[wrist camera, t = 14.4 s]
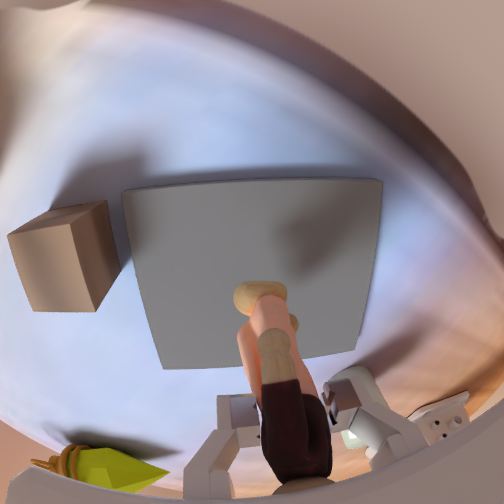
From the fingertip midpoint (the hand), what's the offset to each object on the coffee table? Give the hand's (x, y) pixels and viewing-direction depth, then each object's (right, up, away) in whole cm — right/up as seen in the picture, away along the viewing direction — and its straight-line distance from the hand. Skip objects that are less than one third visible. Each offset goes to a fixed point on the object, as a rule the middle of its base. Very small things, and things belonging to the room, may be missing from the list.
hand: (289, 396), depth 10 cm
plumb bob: (-25, -24, +18) cm, 39 cm away
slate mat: (-1, +4, +9) cm, 10 cm away
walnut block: (-13, +7, +6) cm, 16 cm away
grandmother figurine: (-1, +2, +5) cm, 5 cm away
